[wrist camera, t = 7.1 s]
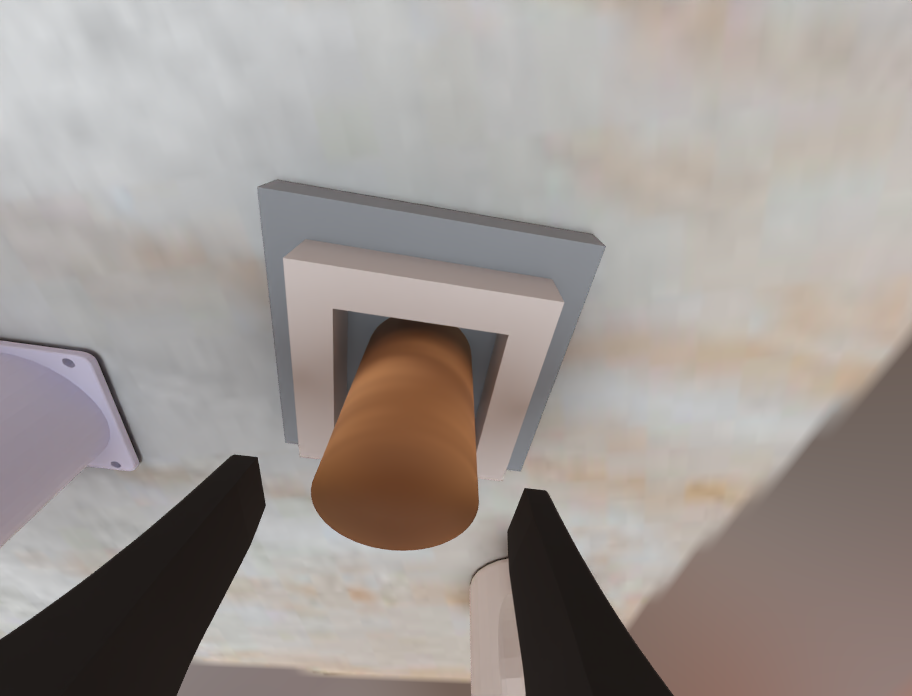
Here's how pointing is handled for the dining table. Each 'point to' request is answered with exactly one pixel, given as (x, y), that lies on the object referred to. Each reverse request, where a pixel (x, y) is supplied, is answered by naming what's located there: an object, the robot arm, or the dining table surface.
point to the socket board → (418, 304)
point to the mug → (494, 634)
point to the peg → (404, 442)
